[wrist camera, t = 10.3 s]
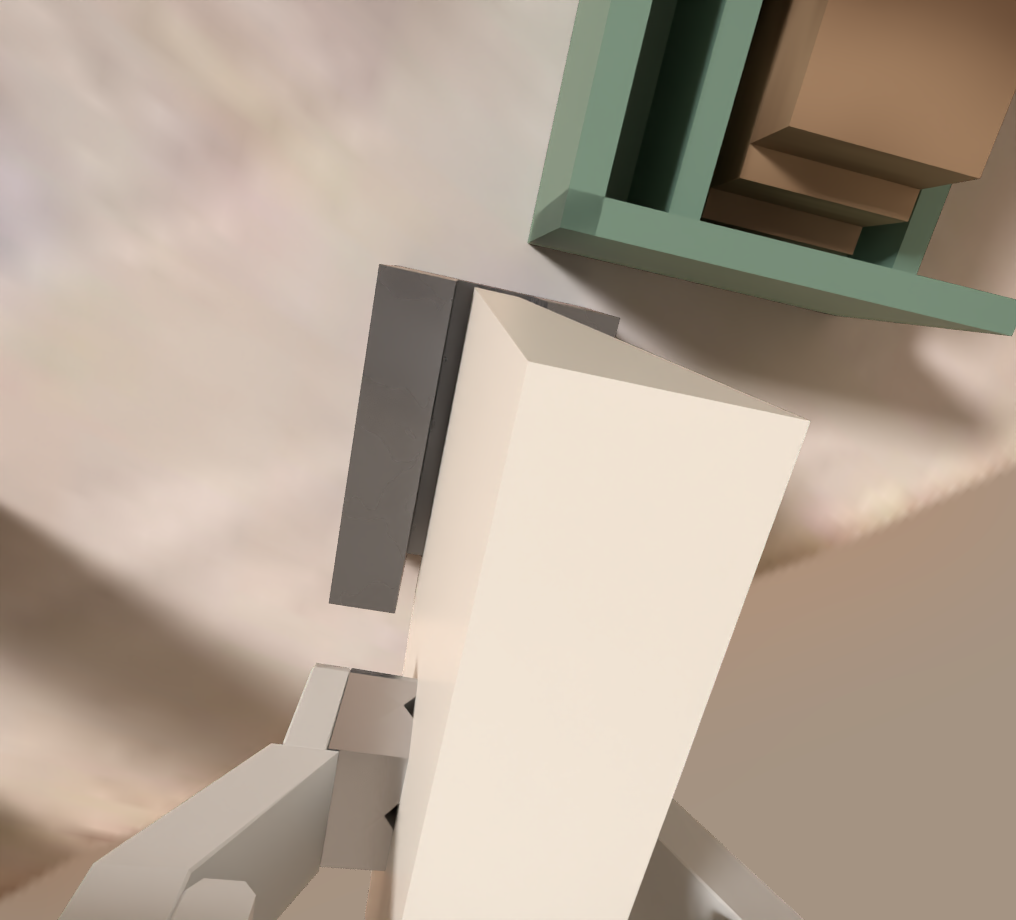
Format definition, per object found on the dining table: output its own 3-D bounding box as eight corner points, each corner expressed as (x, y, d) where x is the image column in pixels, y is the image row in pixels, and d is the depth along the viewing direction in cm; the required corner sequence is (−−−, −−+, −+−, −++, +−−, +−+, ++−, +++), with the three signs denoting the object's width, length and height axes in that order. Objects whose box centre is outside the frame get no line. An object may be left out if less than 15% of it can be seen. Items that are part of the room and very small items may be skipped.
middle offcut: (832, -236, 18) (885, -309, 16) (1005, -173, 19) (1080, -234, 17) (710, 187, 21) (740, 177, 19) (862, 227, 22) (907, 221, 20)
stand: (398, 265, 25) (375, 263, 19) (585, 307, 26) (623, 318, 20) (356, 529, 28) (325, 602, 22) (523, 558, 29) (539, 635, 23)
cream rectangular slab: (474, 286, 21) (527, 361, 3) (518, 296, 21) (810, 421, 3) (416, 586, 25) (277, 1470, 6) (454, 593, 25) (426, 1467, 7)
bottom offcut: (801, -216, 20) (844, -278, 18) (959, -160, 21) (1019, -213, 19) (679, 222, 24) (702, 217, 22) (816, 256, 25) (852, 254, 22)
